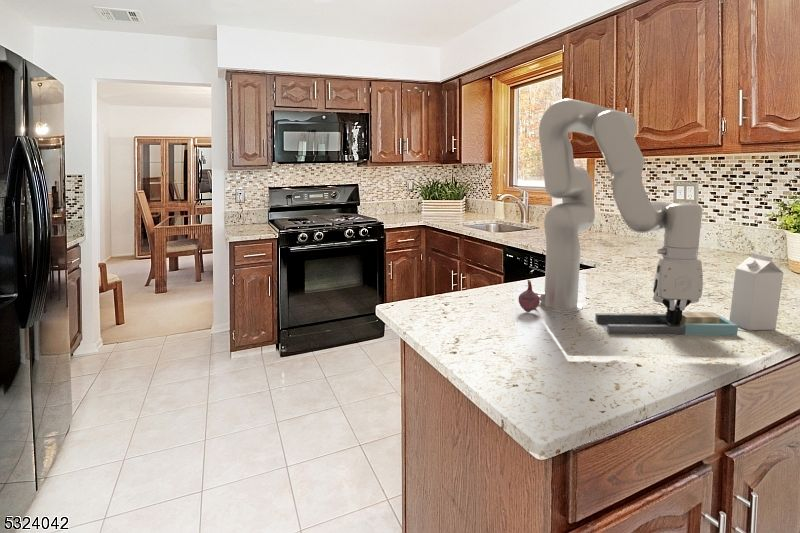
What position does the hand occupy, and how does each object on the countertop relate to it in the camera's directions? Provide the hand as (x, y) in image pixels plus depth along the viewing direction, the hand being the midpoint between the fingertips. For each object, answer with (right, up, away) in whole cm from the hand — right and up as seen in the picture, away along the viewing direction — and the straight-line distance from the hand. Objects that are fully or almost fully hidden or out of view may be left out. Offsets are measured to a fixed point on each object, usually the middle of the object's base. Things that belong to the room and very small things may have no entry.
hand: (673, 324), depth 122 cm
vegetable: (-32, +1, +19) cm, 37 cm away
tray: (+6, -2, 0) cm, 7 cm away
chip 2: (+8, -1, 0) cm, 8 cm away
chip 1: (+4, -1, 0) cm, 4 cm away
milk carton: (+22, -1, +3) cm, 23 cm away
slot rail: (-9, -2, +1) cm, 9 cm away
